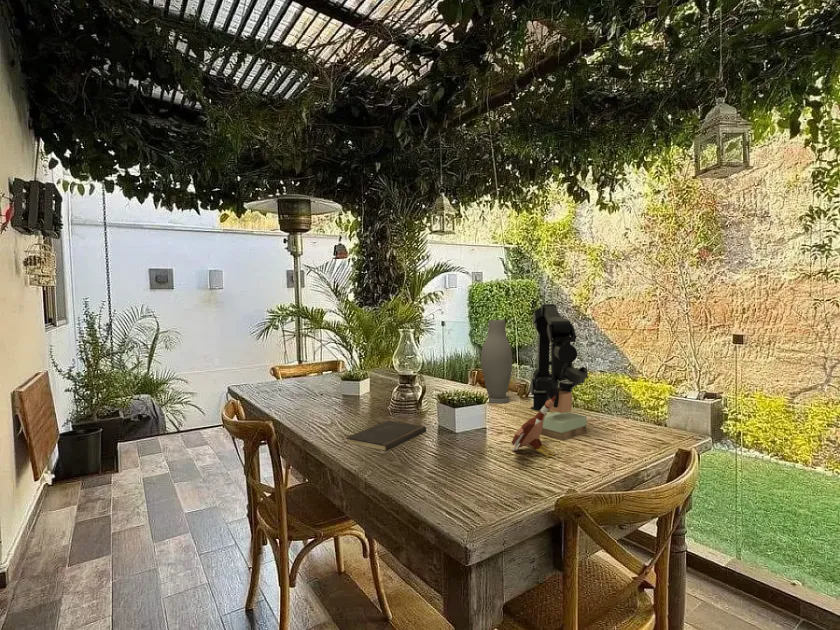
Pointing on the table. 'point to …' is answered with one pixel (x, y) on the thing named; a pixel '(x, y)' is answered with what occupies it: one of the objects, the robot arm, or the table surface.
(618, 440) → the table surface
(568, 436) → the walnut slab
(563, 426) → the sage slab
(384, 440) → the hardcover book
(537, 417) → the decorative bird
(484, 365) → the vase
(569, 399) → the terracotta block
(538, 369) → the robot arm
